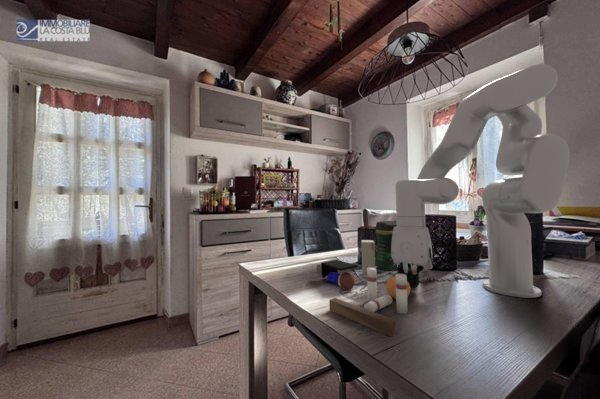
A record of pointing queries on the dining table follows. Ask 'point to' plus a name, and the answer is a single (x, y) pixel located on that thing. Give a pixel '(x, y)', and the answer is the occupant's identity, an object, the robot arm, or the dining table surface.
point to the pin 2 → (401, 293)
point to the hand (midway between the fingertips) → (412, 286)
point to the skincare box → (367, 255)
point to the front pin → (378, 303)
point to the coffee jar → (385, 245)
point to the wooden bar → (364, 316)
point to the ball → (394, 287)
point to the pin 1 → (371, 284)
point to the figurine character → (331, 273)
